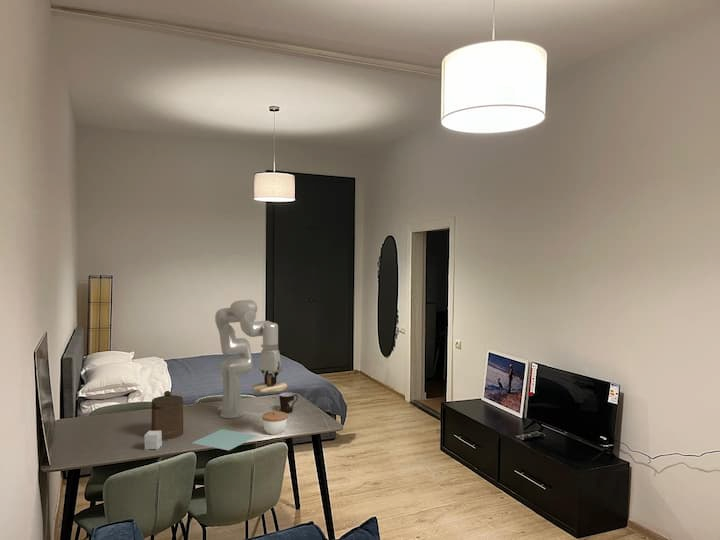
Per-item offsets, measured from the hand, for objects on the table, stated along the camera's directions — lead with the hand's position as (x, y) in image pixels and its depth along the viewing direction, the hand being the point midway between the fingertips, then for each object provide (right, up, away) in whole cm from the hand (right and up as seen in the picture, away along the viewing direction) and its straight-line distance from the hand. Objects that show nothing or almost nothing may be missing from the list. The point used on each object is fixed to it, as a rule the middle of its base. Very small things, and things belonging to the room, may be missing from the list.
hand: (270, 383), depth 267 cm
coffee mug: (+4, -24, +38) cm, 45 cm away
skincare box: (-51, -26, -20) cm, 61 cm away
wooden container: (-51, -25, -2) cm, 57 cm away
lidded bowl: (+2, -26, +2) cm, 26 cm away
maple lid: (0, -2, 0) cm, 2 cm away
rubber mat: (-21, -25, -9) cm, 34 cm away
